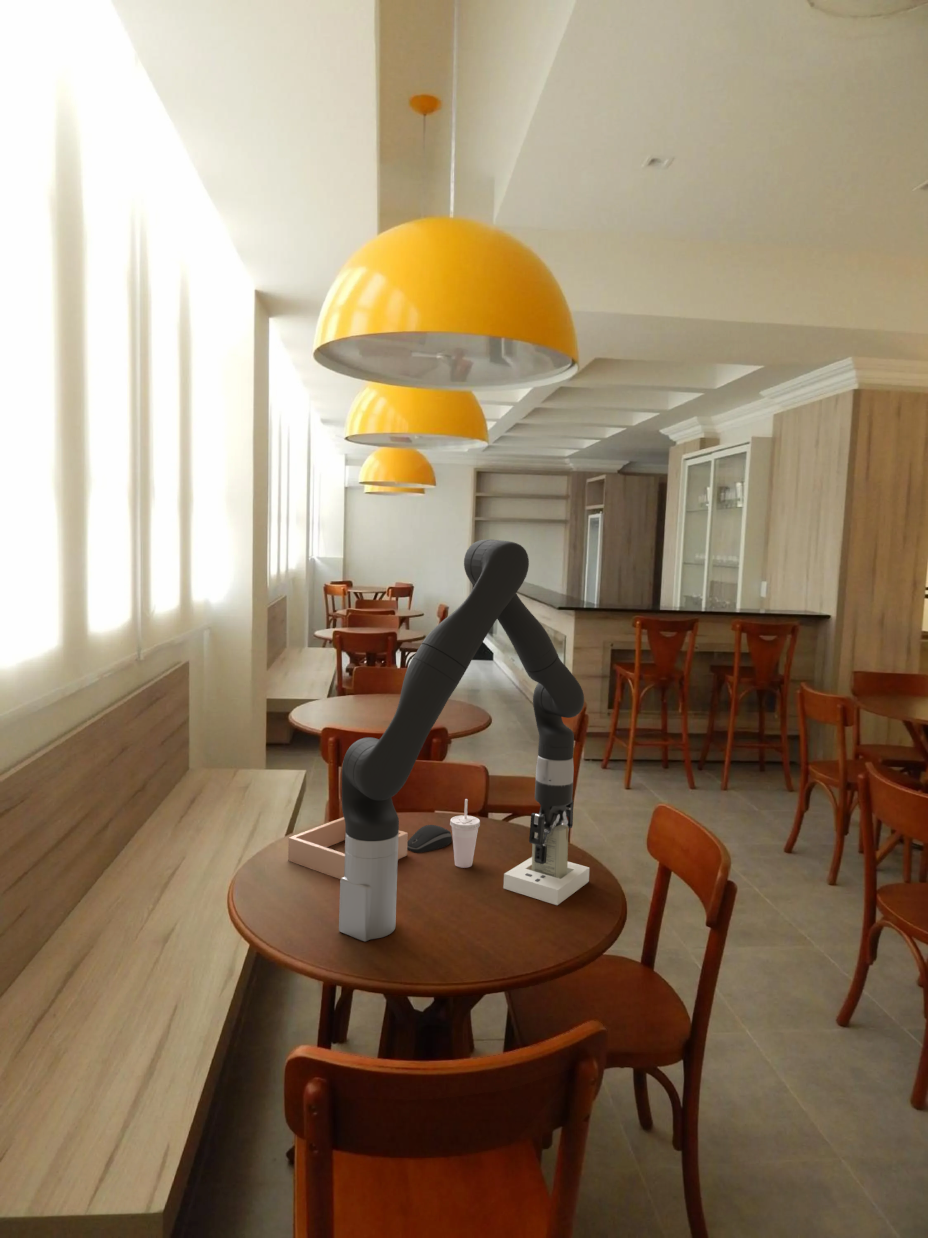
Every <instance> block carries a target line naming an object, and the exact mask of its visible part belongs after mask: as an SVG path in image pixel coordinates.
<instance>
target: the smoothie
mask: <svg viewBox="0 0 928 1238" xmlns="http://www.w3.org/2000/svg"><path fill="white" fill-rule="evenodd" d="M468 801H469V800H468V798H465V799H464V815H463V814H462V815H456V816H453V817H451V818H450V822H449V826H451V832H452V833H451V835H452V846H453V857H454V858H453V859H454V865H455V866H456V867H457V868H462V869H463V868H464V869H465V868H471V867H472V866H473V863H474V862H473V861H474V855H475V851H476V850H475V849H476V843H477V837H478V831H479V827H480V826H481V820H480V819H479V818H478V817H475V816H472V815H468V803H469V802H468Z"/></svg>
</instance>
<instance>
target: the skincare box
mask: <svg viewBox="0 0 928 1238" xmlns="http://www.w3.org/2000/svg"><path fill="white" fill-rule="evenodd" d="M544 829H546V830H548V829H547V828H544ZM535 835H536V832H535ZM535 835H534V838H535ZM544 836H545V835H544V834H543V839H544ZM531 844H532V843H531ZM546 846H547V854H546V863H544V864H540V863H536V862H535V844H532V846H531V847H532V848H531V852H532V853H531V857H532V871H535V872H539V873H542V874H545V875H549V876H552V877H556V878H559V879H561V878H563V877H564V876H566V875H567V862H569V860H568V858H569V857H568V856H569V854H568V853H569V850H568V849H569V831H568V826H566V825H562V824H560V825H558V826H556V827H555V829H554V832H553V835H552V836H550V837H549V839H548V842H547V845H546Z"/></svg>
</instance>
